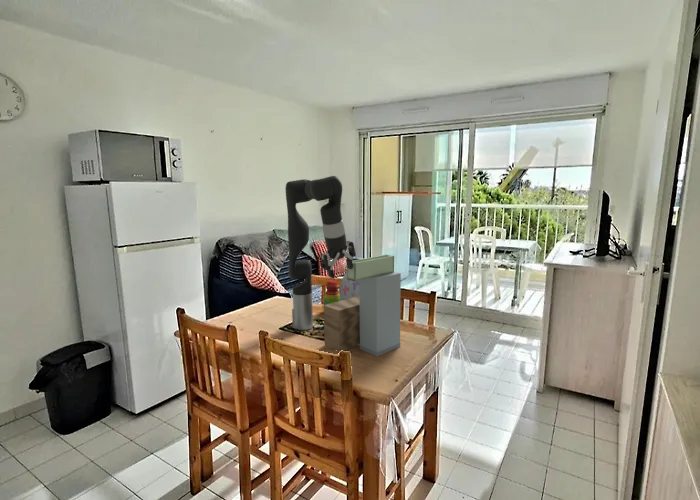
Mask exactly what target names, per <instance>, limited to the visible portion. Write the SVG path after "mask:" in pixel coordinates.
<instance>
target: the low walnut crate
mask: <svg viewBox="0 0 700 500" xmlns="http://www.w3.org/2000/svg"><path fill="white" fill-rule="evenodd" d="M323 328H324V329H323V331H324V333H323V334H324V337H323V338H324V346H325V347H327V348H329V349H331V350H333V351H335V350H337V351H338V353H339V351H341V350H345V351H348V350H350V349H353V348H355V347H358V346H360V300H359V296H357V297H353V298H349V299H345V300H341V301H338V302H334V303H330V304H326V305H324V304H323ZM347 349H348V350H347ZM337 351H336V352H337Z"/></svg>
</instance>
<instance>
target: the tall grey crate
mask: <svg viewBox="0 0 700 500" xmlns="http://www.w3.org/2000/svg"><path fill="white" fill-rule="evenodd" d="M401 276H402V274H401V272H397V271H394V273H389V274H385V275H381V276H376V277H372V278H368V279H363V280H359V300H360V345H359V350H361V351H364V352H366V353H368V354H371V355H373V356H374V357H379V356H381V355H384V354H386V353H389V352H391V351H393V350H396V349H398V348H400V347H401V289H402V288H401V281H402V280H401V278H402V277H401Z"/></svg>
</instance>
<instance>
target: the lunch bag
mask: <svg viewBox="0 0 700 500" xmlns="http://www.w3.org/2000/svg"><path fill="white" fill-rule="evenodd" d="M339 294H340V301H341V300H345V299H349V298H353V297H357V296H359V281H351V280H347V271H345V274H344V275H343V277H342V278H341V281H340V284H339Z"/></svg>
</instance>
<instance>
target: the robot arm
mask: <svg viewBox="0 0 700 500" xmlns="http://www.w3.org/2000/svg"><path fill="white" fill-rule="evenodd" d="M342 194H343V183H342V181H341V179H340V178H339V177H338V176H336V175H330V176H325V177H323V178H318V179H317V178H316V179H313V180H309V179H303V178H302V179H296V180H290V181H287V182H286V184H285V200H286V209H287V239H288V277H289V278H290V279H291V280H295V281H296V280H303V281H302V282H301V283H299V284H296V285H295V286H293V288H292V306H293V307H292V309H291V316H292V317H291V319H292V329H293V328H294V329H295V330H297V329H298V330H297V331H306V330H309V329H312V328H313V327H314V321H313V319H314V318H313V317H314V315H313V313H314V312H313V291H312V288H313V287H312V285H313V284H312V276H313V275H312V274H313V273H312V272H313V268H312V267H313V266H312V262H311V260H309V259H298V257H299V255H300V254H301V253H302V251H303V250H304V249H305V247H306V246H307V245H308V243H309V241H310V240H309V239H310V226H309V225H308V223H307V221H306V220H305V219H304V217H302V215H301V214H300V213H299V211H298V209H297V204H301V203H307V202H310V201H311V200H315V201H317V202H321V201H325V200H328V199H329V201H328V202H327V203H325V204H323V205H322V206H321V207H320V210H319V211H320V215H321V216H320V217H321V221H322V231H323V237H324V242H325V243H324V244H325V247H326V248H327V251H326V252H325V253H321V254H320V256H319V257H320V262H321V269H323V270H325V271H327V275H328V277H329V278H330V279H332V280H333V279H334V280H335V278H336V276H335V270H334V267H335V265H336V264H337V261H340V260H341V259H344V257H345V258H346V259H345V262H346V263H345V264H346V269H347V268H348V269H352V267H353V264H352V261H353V258H354V257H356V256H357V255H356V254H357V253H356V250H355V244H354V242H353V241H349V240H348V241H347V236H346V230H345V224H344V222H343V217H342V209H341V208H342V206H341V205H342V204H341V203H342ZM347 250H348V251H347Z"/></svg>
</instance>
